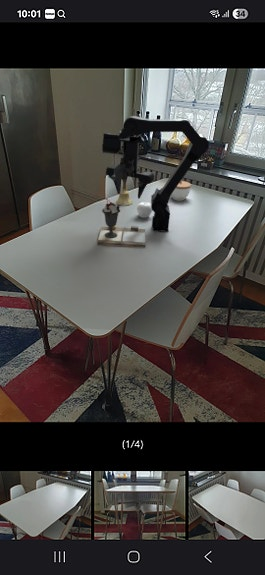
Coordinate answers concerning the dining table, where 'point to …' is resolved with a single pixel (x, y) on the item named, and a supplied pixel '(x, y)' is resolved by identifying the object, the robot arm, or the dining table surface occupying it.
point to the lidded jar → (181, 191)
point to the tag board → (123, 237)
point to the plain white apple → (144, 209)
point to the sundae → (111, 217)
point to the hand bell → (124, 196)
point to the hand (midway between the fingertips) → (128, 196)
